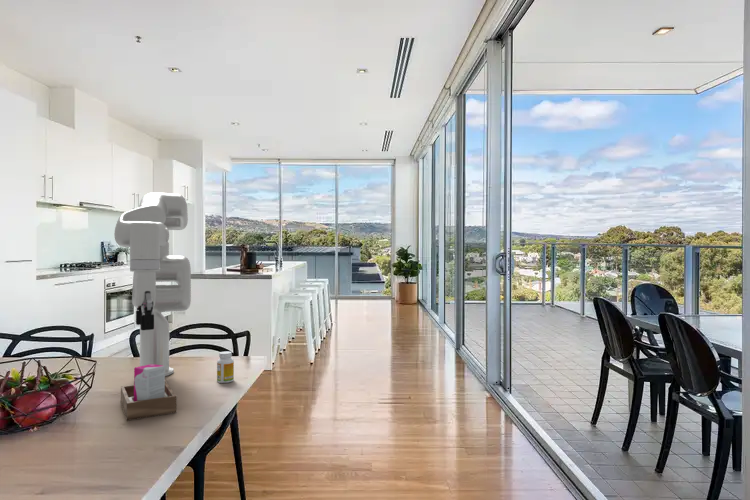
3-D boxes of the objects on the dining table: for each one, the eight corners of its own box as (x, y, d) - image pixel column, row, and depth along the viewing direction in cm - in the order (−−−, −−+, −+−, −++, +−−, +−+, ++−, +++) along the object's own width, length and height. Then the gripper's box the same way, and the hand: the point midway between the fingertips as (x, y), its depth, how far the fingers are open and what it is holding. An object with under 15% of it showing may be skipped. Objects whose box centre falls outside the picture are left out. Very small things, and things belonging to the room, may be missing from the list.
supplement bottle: (236, 379, 166) (236, 351, 166) (229, 383, 160) (230, 354, 160) (220, 378, 166) (221, 350, 166) (214, 383, 161) (214, 353, 161)
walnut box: (120, 402, 140) (120, 386, 140) (165, 395, 147) (165, 380, 147) (127, 420, 125) (127, 403, 125) (176, 412, 132) (176, 396, 132)
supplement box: (165, 406, 135) (165, 365, 135) (147, 412, 130) (147, 369, 130) (151, 403, 138) (151, 363, 138) (132, 409, 132) (132, 367, 132)
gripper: (126, 264, 140) (126, 323, 140) (134, 267, 125) (133, 333, 126) (154, 264, 144) (154, 321, 144) (165, 267, 130) (164, 330, 130)
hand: (144, 326), depth 135 cm, fingers open, 9 cm apart
